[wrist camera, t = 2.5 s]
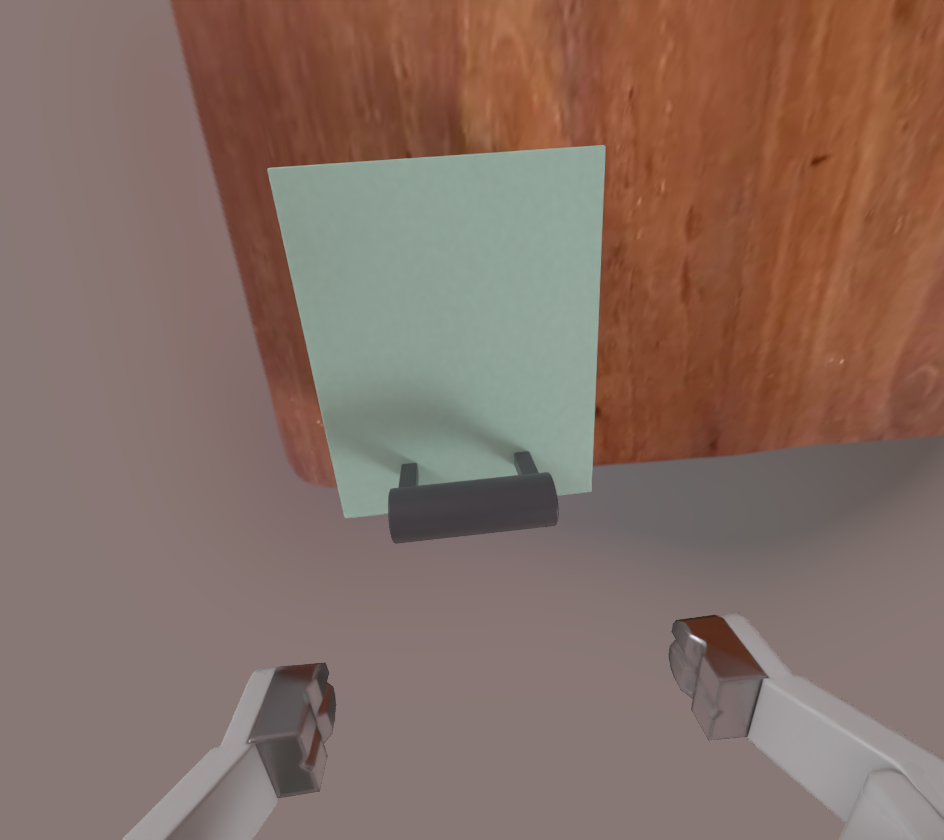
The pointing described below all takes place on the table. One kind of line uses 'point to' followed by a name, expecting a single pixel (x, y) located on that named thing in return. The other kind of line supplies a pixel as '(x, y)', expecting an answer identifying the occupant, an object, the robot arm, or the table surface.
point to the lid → (451, 331)
